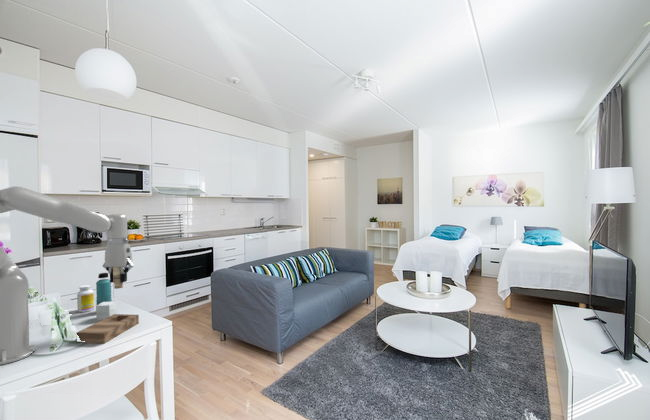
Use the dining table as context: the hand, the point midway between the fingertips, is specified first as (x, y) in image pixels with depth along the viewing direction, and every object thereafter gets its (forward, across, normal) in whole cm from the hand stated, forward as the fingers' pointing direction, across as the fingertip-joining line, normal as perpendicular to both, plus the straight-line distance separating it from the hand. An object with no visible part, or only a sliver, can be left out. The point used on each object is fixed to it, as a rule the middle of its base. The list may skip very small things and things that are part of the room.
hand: (118, 281), depth 136 cm
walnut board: (+21, 0, +6) cm, 22 cm away
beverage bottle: (+21, +22, -17) cm, 35 cm away
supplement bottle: (+21, +33, -18) cm, 43 cm away
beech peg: (+3, 0, 0) cm, 3 cm away
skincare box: (+21, +14, -9) cm, 27 cm away
